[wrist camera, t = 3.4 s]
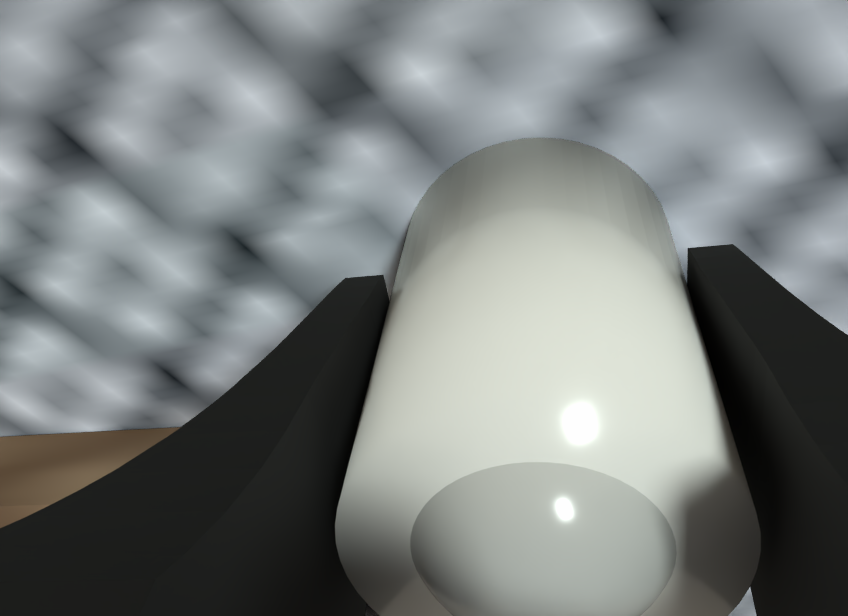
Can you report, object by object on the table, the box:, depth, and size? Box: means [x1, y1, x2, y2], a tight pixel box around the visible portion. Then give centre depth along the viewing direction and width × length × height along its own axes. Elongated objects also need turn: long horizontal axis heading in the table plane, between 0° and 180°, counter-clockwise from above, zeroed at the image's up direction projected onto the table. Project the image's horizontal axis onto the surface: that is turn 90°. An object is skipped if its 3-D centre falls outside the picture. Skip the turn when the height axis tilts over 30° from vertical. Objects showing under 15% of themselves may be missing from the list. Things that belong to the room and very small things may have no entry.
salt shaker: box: [335, 138, 761, 616], centre depth 11 cm, size 4×4×7 cm
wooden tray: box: [0, 427, 181, 528], centre depth 18 cm, size 16×8×2 cm, turn 100°
